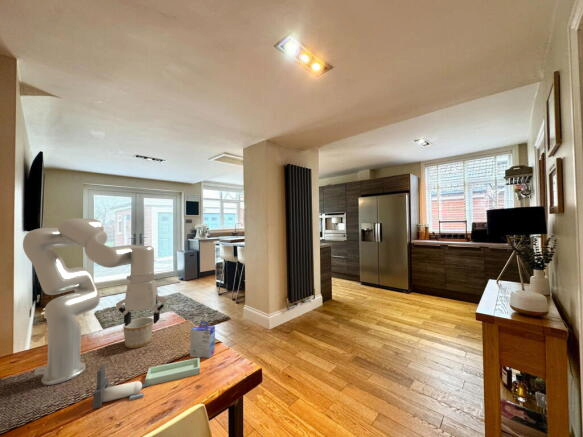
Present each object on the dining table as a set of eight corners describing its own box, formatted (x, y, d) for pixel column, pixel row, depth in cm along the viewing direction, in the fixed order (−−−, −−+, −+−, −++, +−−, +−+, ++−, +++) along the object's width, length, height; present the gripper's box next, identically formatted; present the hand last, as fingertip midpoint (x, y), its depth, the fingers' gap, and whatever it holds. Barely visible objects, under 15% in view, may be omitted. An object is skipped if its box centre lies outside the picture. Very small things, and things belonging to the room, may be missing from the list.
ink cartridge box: (215, 351, 109) (215, 320, 110) (210, 358, 104) (210, 326, 104) (195, 350, 110) (196, 319, 111) (189, 357, 105) (189, 325, 105)
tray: (145, 386, 86) (145, 379, 86) (149, 373, 93) (149, 367, 93) (199, 373, 93) (199, 367, 93) (199, 362, 100) (199, 357, 101)
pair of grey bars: (129, 400, 79) (129, 398, 79) (134, 387, 85) (134, 385, 85) (143, 397, 81) (143, 394, 81) (146, 384, 87) (146, 382, 87)
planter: (117, 346, 114) (117, 325, 114) (142, 335, 125) (142, 315, 125) (134, 352, 109) (134, 330, 109) (158, 339, 120) (158, 319, 121)
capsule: (91, 407, 76) (91, 395, 76) (95, 399, 80) (96, 387, 80) (140, 395, 82) (140, 384, 82) (143, 388, 85) (143, 377, 85)
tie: (93, 409, 75) (93, 374, 76) (101, 394, 82) (101, 362, 82) (100, 407, 76) (101, 372, 76) (108, 393, 82) (108, 361, 83)
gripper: (111, 282, 83) (110, 329, 83) (163, 279, 87) (163, 325, 86) (122, 277, 91) (121, 321, 90) (169, 275, 94) (169, 317, 94)
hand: (142, 323), depth 88 cm, fingers open, 9 cm apart
